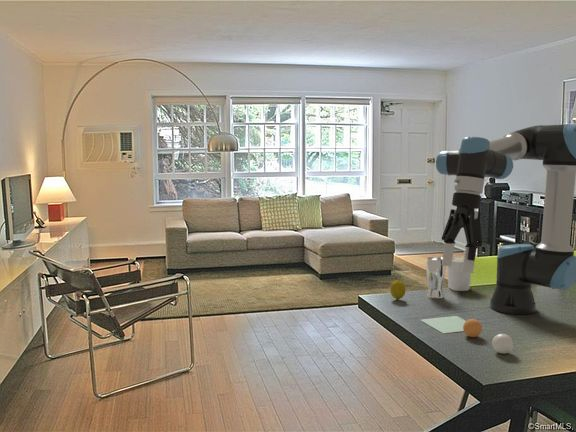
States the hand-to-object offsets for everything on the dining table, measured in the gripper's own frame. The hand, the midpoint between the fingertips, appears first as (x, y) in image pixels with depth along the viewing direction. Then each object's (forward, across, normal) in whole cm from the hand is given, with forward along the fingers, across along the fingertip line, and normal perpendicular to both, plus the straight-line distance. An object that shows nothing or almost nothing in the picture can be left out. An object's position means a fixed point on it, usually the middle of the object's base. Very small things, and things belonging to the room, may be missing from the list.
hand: (456, 269), depth 155 cm
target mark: (+20, -25, +12) cm, 35 cm away
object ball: (+18, -13, +14) cm, 27 cm away
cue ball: (+19, +1, +17) cm, 25 cm away
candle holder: (+13, -68, +34) cm, 78 cm away
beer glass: (+16, -58, +20) cm, 63 cm away
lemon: (+19, -55, +5) cm, 59 cm away
